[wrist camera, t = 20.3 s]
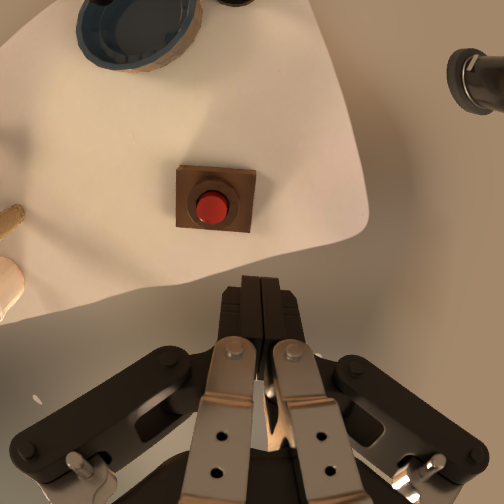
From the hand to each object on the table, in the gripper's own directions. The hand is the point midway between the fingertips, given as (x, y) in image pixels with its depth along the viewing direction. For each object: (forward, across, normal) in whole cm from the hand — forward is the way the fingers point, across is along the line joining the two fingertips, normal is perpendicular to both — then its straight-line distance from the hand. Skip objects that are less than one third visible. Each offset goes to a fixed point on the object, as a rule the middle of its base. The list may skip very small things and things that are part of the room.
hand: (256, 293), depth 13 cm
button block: (+29, +4, +6) cm, 30 cm away
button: (+25, +4, +6) cm, 26 cm away
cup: (+29, +47, +24) cm, 60 cm away
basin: (+29, +15, -18) cm, 37 cm away
